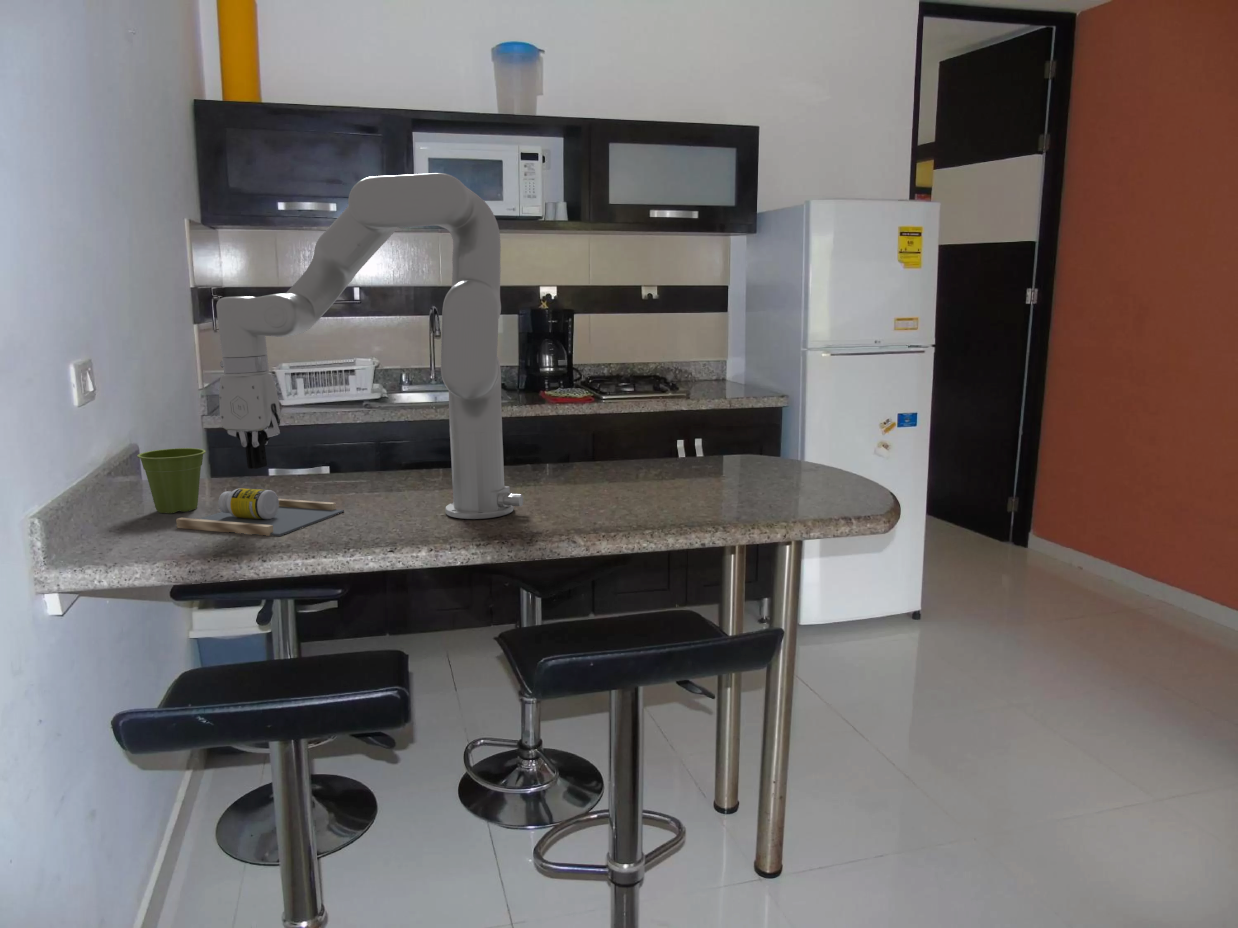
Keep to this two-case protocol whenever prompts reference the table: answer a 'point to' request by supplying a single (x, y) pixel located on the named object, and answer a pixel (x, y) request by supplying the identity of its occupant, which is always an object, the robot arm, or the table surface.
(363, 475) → the table surface
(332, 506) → the strip right
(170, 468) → the plant pot
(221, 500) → the supplement bottle
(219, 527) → the strip left
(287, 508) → the mat
